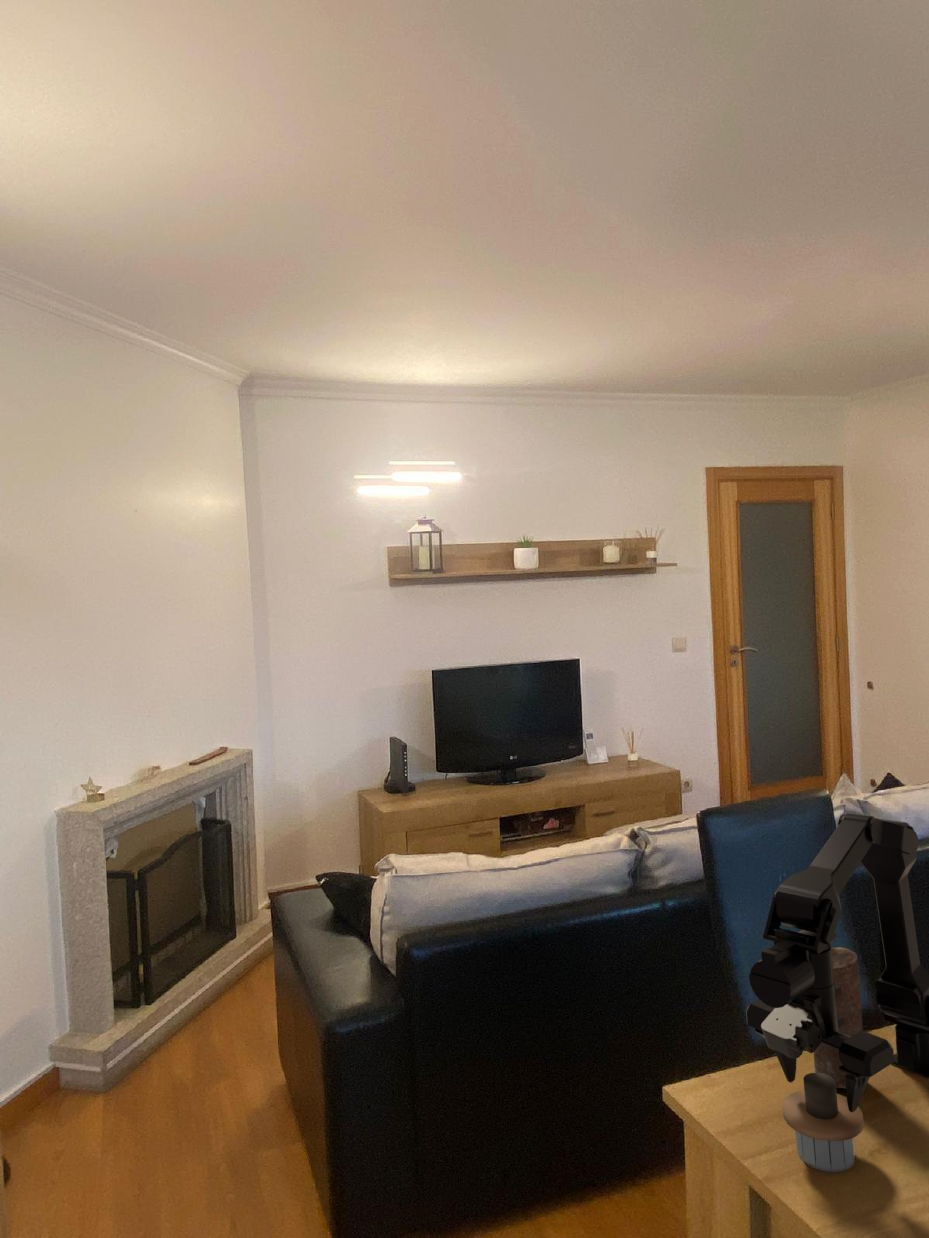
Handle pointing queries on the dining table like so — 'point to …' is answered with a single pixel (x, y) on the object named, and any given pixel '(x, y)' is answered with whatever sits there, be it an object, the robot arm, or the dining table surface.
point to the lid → (821, 1111)
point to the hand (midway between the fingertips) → (821, 1095)
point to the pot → (826, 1153)
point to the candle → (842, 1012)
